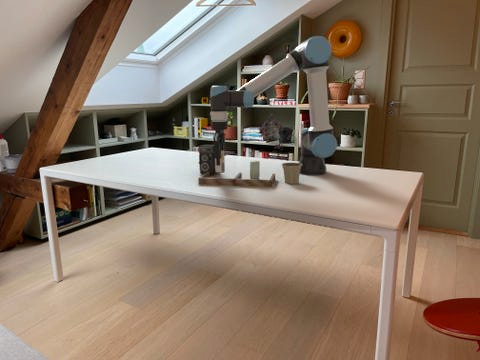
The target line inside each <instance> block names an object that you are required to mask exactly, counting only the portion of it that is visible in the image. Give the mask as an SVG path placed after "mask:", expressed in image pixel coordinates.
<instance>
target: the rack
mask: <svg viewBox="0 0 480 360" xmlns="http://www.w3.org/2000/svg"><path fill="white" fill-rule="evenodd" d="M197 181H198V185H209V186H230V187H231V186H233V187H236V186H237V187H256V188H257V187H258V188H273V186H274V184H275V181H276V173H272V175H271V177H269V179H259V180H258V179H250V178H243V173H242V172H238V174H236V175H235V177H234V178H229V177H228V178H225V177H223V178H222V177H210V175H209V172H206V173H204V174H203V175H202V174H201V175H200V176H199V177H198V179H197Z"/></svg>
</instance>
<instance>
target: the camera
mask: <svg viewBox="0 0 480 360" xmlns="http://www.w3.org/2000/svg"><path fill="white" fill-rule="evenodd" d="M197 150H198V160H199V161H198V164H199V174H200V175H201V176H202V175H203V174H204V173H206V172H209V176H210V175H212V176H215V175H216V174H217V173H216V172H215V158H214V144H202V145H199V146H198V148H197Z"/></svg>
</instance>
